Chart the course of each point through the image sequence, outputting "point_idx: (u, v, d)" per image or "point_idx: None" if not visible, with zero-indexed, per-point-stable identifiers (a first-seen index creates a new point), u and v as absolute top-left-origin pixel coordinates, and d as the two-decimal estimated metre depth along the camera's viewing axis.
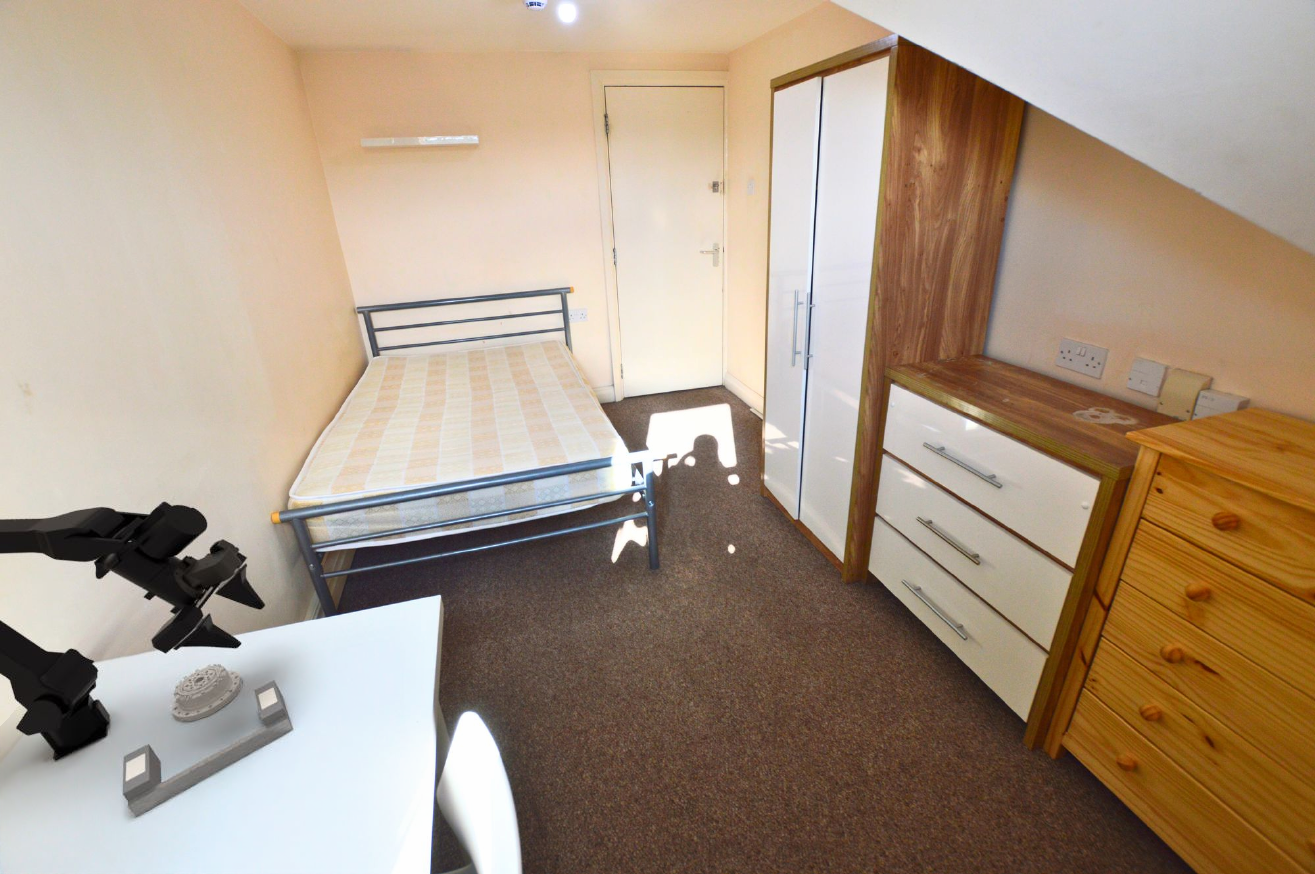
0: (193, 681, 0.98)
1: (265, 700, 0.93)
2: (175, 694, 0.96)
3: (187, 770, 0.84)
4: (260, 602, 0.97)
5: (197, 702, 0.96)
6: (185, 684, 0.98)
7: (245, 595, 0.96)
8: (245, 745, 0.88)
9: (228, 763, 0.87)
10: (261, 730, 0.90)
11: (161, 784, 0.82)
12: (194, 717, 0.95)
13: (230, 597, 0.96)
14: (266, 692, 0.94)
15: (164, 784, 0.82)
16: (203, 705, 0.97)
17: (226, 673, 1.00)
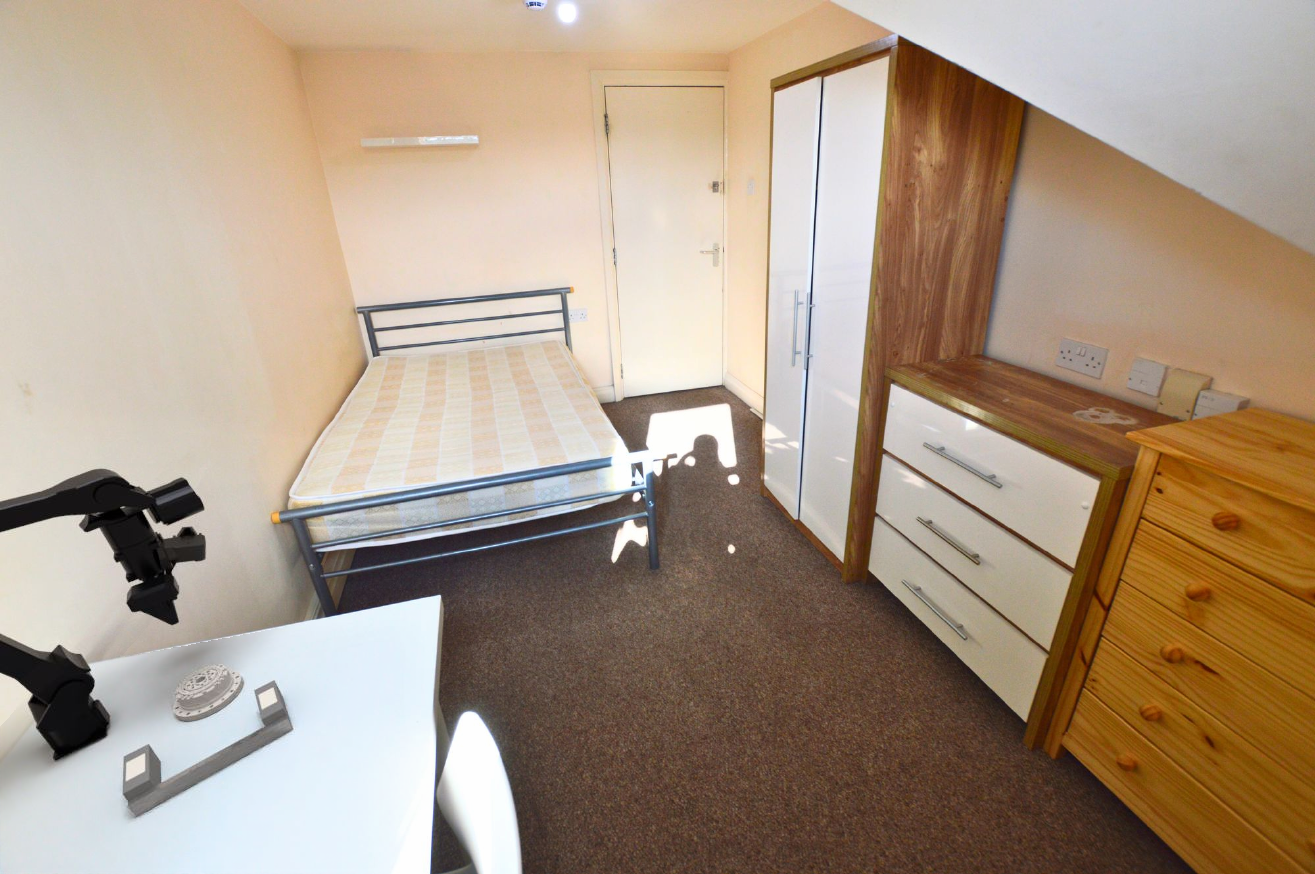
0: (194, 681, 0.98)
1: (265, 700, 0.93)
2: (176, 694, 0.96)
3: (187, 770, 0.84)
4: None
5: (199, 701, 0.96)
6: (186, 684, 0.98)
7: None
8: (245, 745, 0.88)
9: (228, 763, 0.87)
10: (261, 730, 0.90)
11: (161, 784, 0.82)
12: (195, 716, 0.95)
13: None
14: (266, 692, 0.94)
15: (164, 784, 0.82)
16: (204, 705, 0.97)
17: (227, 673, 1.00)
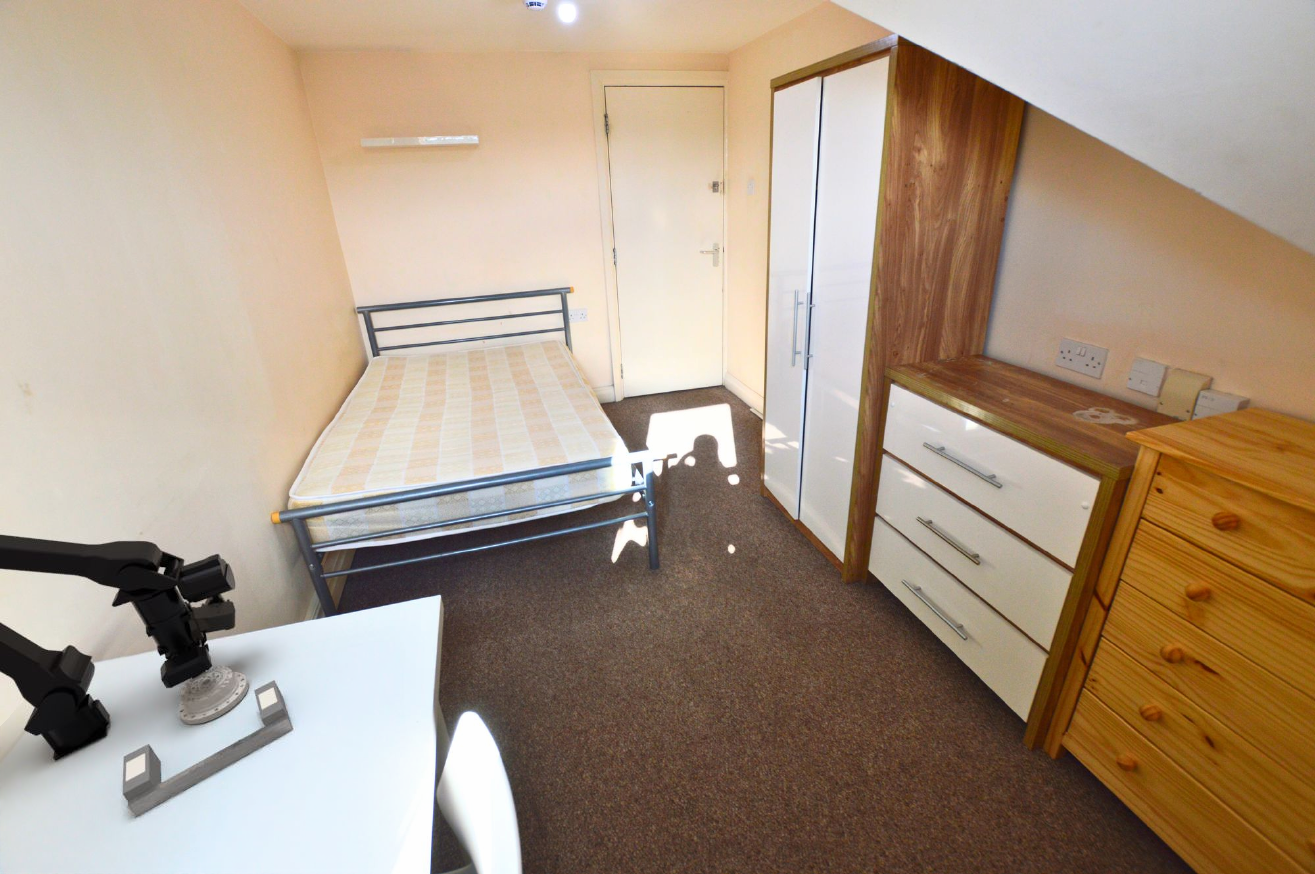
0: (199, 683, 0.97)
1: (265, 700, 0.93)
2: (181, 696, 0.95)
3: (187, 770, 0.84)
4: None
5: (204, 705, 0.95)
6: (191, 686, 0.97)
7: None
8: (245, 745, 0.88)
9: (228, 763, 0.87)
10: (261, 730, 0.90)
11: (161, 784, 0.82)
12: (200, 720, 0.95)
13: None
14: (266, 692, 0.94)
15: (164, 784, 0.82)
16: (209, 708, 0.96)
17: (232, 675, 0.99)
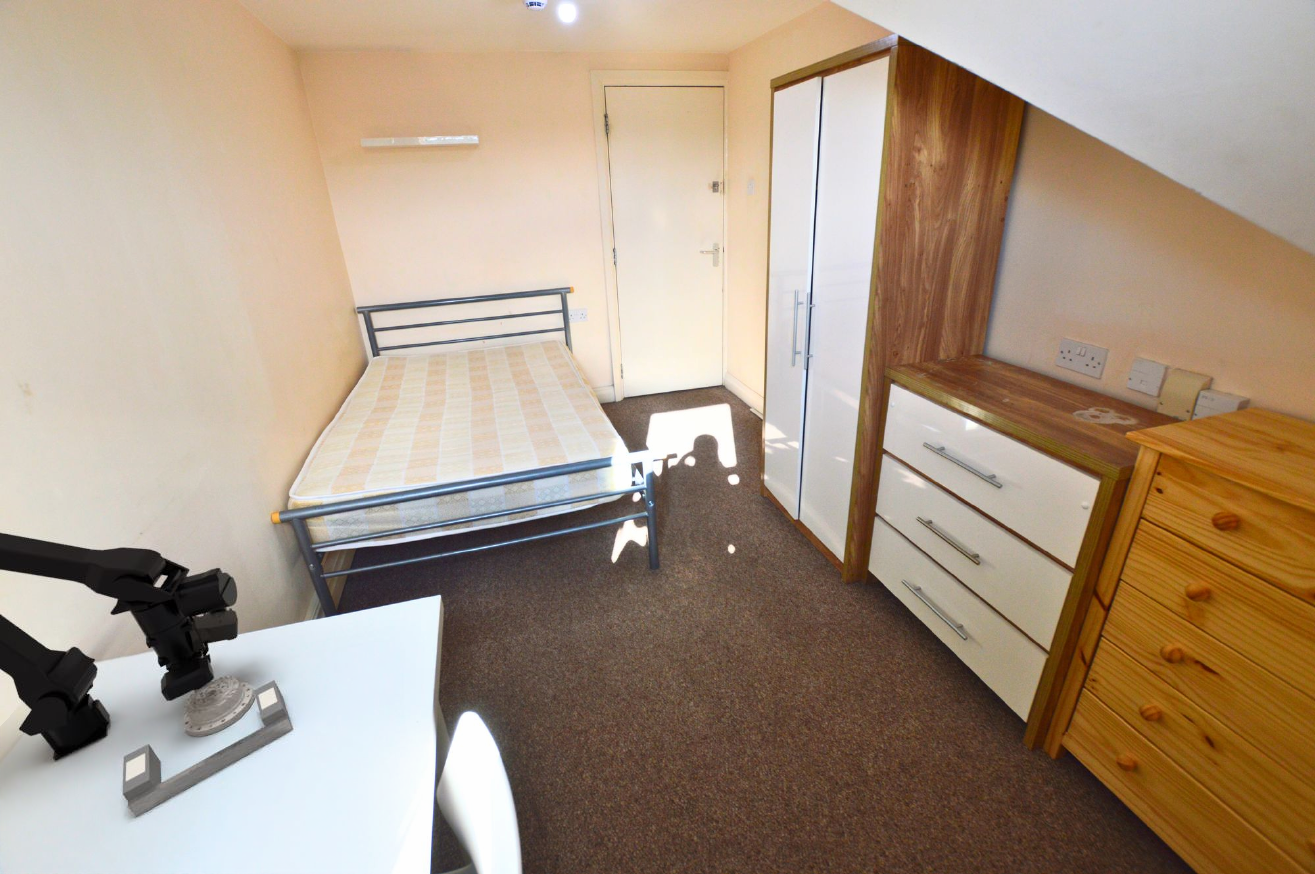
0: (205, 694, 0.95)
1: (265, 700, 0.93)
2: (186, 708, 0.93)
3: (187, 770, 0.84)
4: None
5: (210, 716, 0.93)
6: (196, 698, 0.95)
7: None
8: (245, 745, 0.88)
9: (228, 763, 0.87)
10: (261, 730, 0.90)
11: (161, 784, 0.82)
12: (207, 731, 0.92)
13: None
14: (266, 692, 0.94)
15: (164, 784, 0.82)
16: (216, 719, 0.94)
17: (238, 685, 0.97)
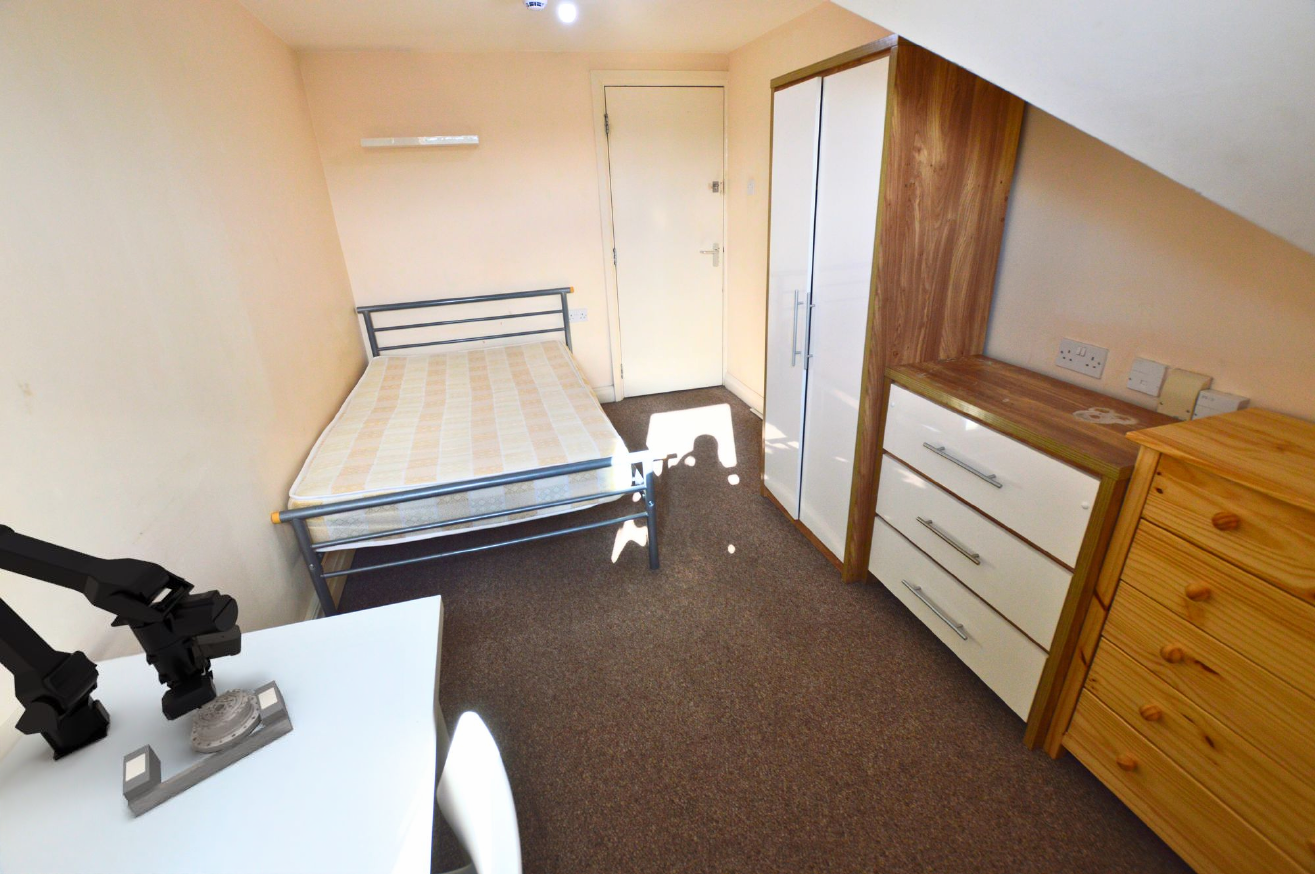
0: (213, 709, 0.92)
1: (265, 700, 0.93)
2: (194, 724, 0.90)
3: (187, 770, 0.84)
4: None
5: (220, 731, 0.90)
6: (204, 713, 0.92)
7: None
8: (245, 745, 0.88)
9: (228, 763, 0.87)
10: (261, 730, 0.90)
11: (161, 784, 0.82)
12: (217, 747, 0.89)
13: None
14: (266, 692, 0.94)
15: (164, 784, 0.82)
16: (226, 734, 0.90)
17: (248, 699, 0.94)
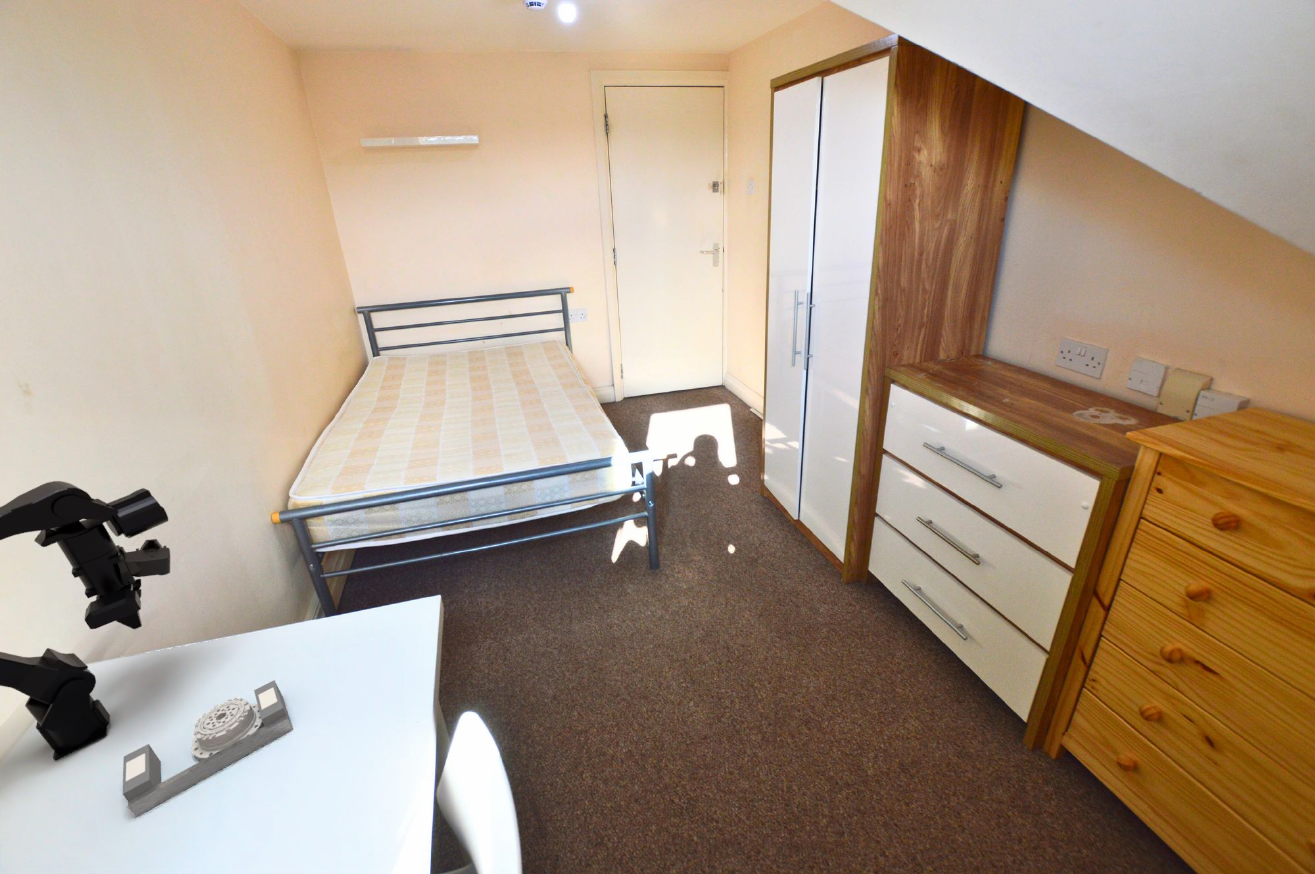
0: (214, 718, 0.91)
1: (265, 700, 0.93)
2: (196, 733, 0.88)
3: (187, 770, 0.84)
4: (140, 620, 0.99)
5: (222, 740, 0.88)
6: (206, 722, 0.90)
7: None
8: (245, 745, 0.88)
9: (228, 763, 0.87)
10: (261, 730, 0.90)
11: (161, 784, 0.82)
12: None
13: None
14: (266, 692, 0.94)
15: (164, 784, 0.82)
16: (228, 743, 0.89)
17: (250, 707, 0.93)
